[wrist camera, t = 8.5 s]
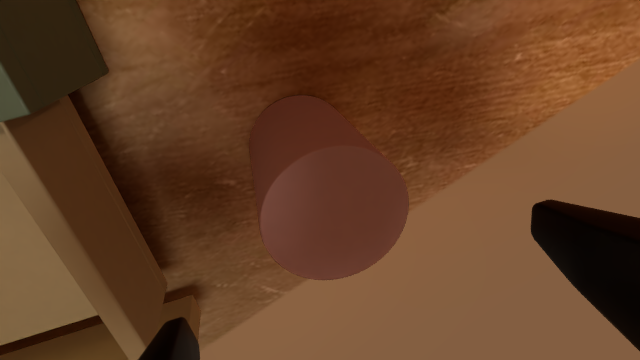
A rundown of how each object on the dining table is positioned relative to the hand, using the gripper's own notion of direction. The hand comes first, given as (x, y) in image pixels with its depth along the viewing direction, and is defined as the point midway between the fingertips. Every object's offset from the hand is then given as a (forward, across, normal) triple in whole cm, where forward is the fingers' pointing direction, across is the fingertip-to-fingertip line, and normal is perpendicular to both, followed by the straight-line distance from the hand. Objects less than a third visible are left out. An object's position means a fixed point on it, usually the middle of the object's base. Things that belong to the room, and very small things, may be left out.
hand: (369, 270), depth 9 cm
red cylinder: (+10, 0, 0) cm, 10 cm away
